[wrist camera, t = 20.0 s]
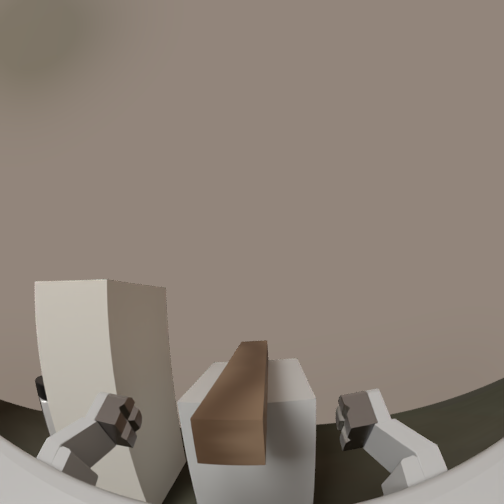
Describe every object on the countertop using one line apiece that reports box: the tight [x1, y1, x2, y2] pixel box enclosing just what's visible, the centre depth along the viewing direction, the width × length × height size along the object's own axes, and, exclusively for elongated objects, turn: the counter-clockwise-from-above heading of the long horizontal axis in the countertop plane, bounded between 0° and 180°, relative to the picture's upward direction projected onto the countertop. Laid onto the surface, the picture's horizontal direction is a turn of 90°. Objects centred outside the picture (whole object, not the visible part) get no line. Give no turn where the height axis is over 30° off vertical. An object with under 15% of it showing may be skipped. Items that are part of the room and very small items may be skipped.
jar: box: [35, 376, 56, 436], centre depth 29 cm, size 9×8×12 cm
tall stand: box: [35, 279, 186, 504], centre depth 25 cm, size 10×14×26 cm
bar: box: [190, 341, 268, 465], centre depth 20 cm, size 3×22×2 cm, turn 176°
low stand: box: [177, 358, 316, 504], centre depth 22 cm, size 10×14×16 cm
